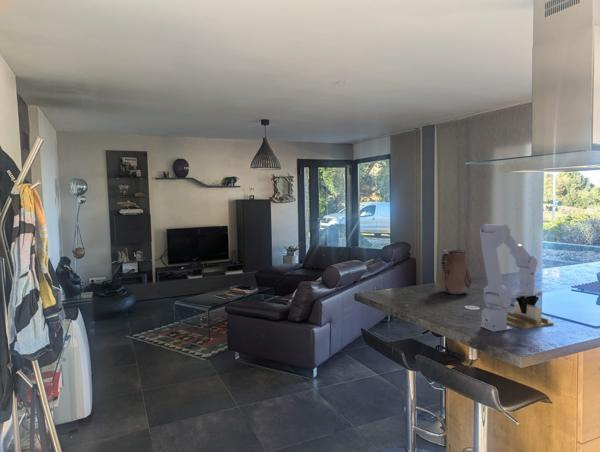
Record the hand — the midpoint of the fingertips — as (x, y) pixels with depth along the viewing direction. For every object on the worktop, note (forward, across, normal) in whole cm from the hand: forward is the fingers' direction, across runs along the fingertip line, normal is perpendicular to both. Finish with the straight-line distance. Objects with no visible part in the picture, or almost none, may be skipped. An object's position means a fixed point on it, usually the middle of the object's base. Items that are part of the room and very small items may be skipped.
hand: (526, 312), depth 186 cm
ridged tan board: (+4, -3, 0) cm, 5 cm away
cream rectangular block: (+2, 0, 0) cm, 2 cm away
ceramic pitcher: (+4, +4, +59) cm, 59 cm away
